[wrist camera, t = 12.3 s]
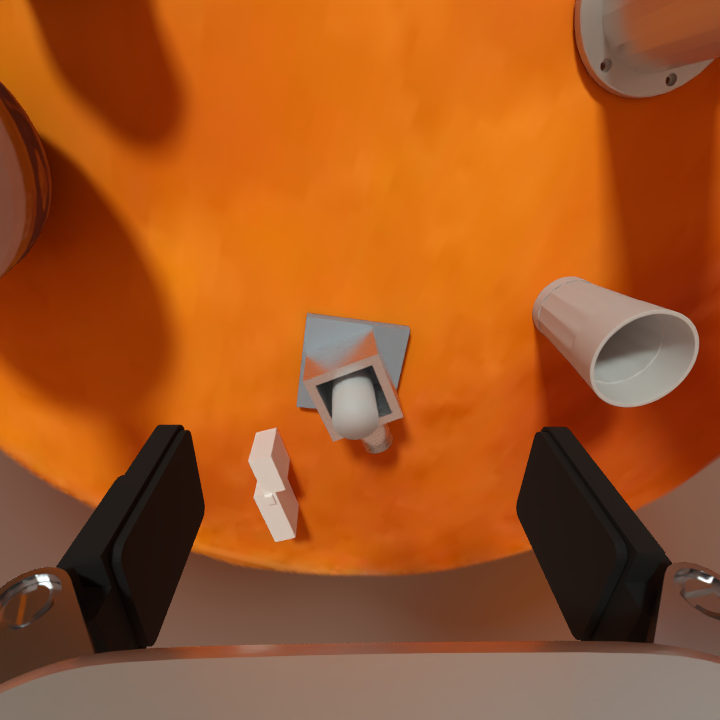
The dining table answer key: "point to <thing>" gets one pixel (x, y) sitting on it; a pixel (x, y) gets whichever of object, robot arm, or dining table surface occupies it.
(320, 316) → the flange
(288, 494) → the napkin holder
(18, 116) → the jug
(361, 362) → the collar
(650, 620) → the robot arm
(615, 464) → the dining table surface
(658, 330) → the cup
